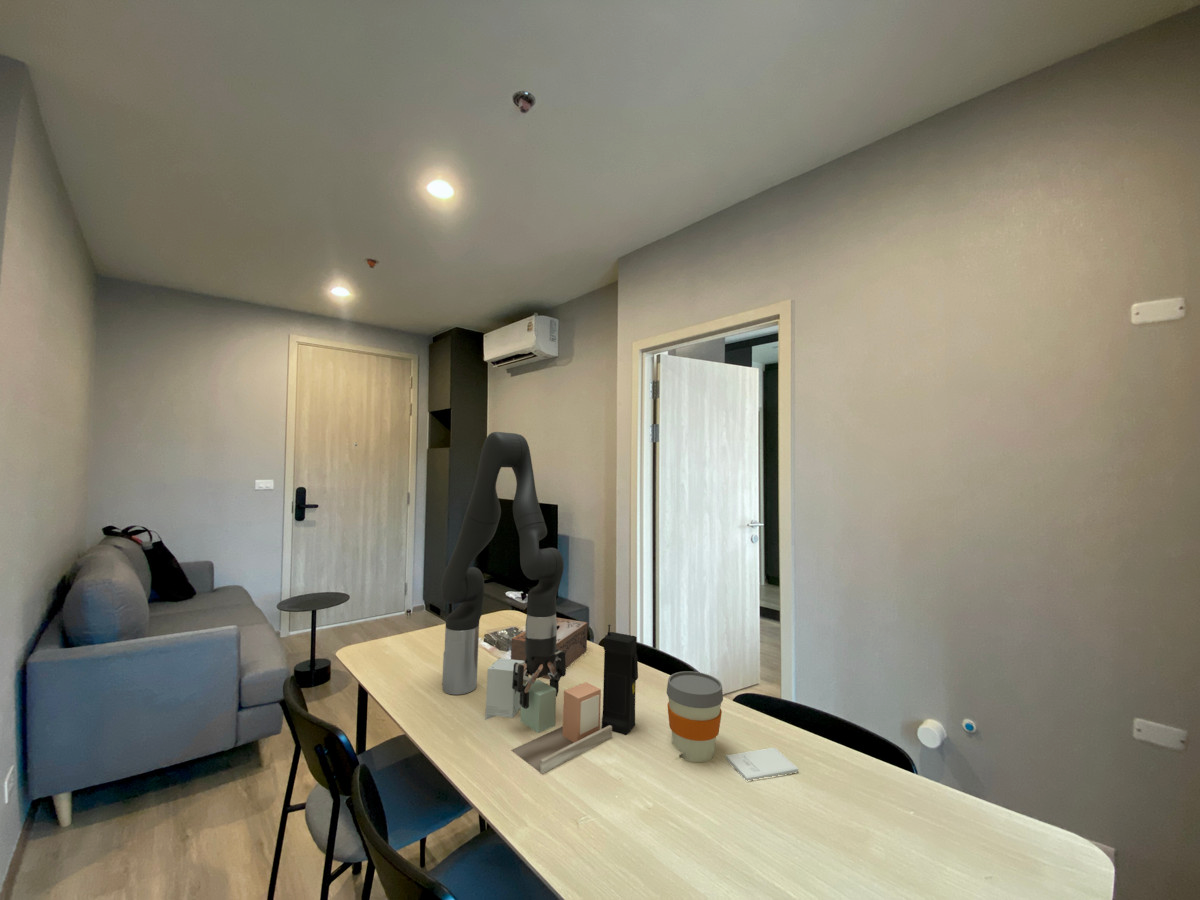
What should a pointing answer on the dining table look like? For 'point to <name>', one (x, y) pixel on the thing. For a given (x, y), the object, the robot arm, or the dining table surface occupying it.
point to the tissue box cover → (558, 642)
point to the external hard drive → (761, 764)
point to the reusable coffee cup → (694, 713)
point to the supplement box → (502, 690)
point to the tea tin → (540, 707)
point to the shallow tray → (558, 748)
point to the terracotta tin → (581, 711)
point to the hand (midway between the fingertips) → (539, 701)
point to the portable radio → (619, 682)
